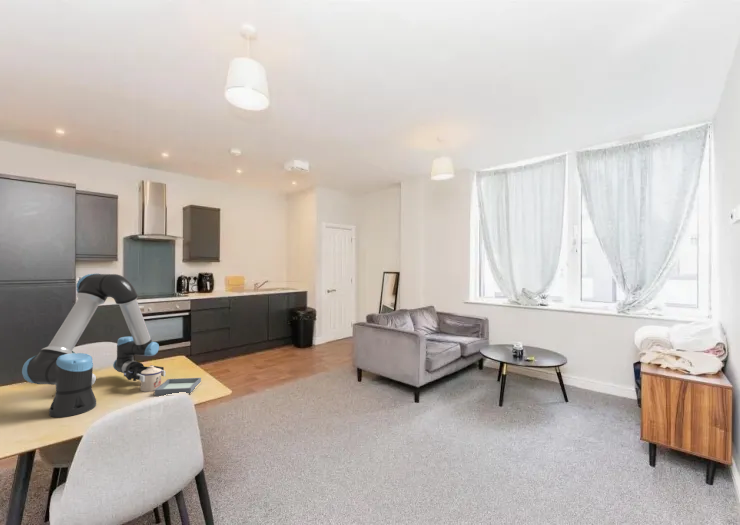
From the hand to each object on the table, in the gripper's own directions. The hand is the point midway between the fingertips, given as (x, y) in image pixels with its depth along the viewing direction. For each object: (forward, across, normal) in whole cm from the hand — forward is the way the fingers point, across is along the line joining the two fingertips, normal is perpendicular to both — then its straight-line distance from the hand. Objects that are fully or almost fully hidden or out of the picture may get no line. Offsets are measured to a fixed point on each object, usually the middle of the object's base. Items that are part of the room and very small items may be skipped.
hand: (154, 376), depth 165 cm
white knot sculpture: (-28, +22, -7) cm, 36 cm away
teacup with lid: (-4, -1, -7) cm, 8 cm away
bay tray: (+9, -8, -7) cm, 14 cm away
